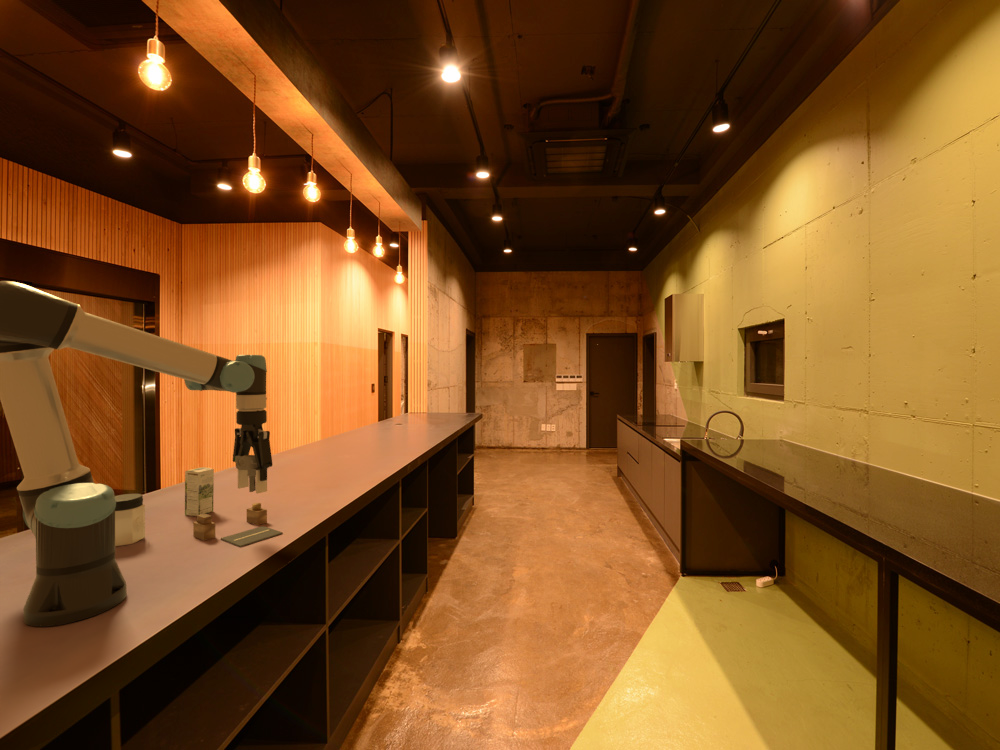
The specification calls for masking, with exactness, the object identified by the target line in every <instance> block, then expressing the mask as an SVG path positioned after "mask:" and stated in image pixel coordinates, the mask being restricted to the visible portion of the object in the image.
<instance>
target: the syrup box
mask: <svg viewBox="0 0 1000 750" xmlns="http://www.w3.org/2000/svg"><path fill="white" fill-rule="evenodd" d="M214 471H215V470H214V469H213V468H211V467H204V466H203V467H198V468H197V467H196V468H193V469H188V470H185V471H184V515H185V516H191V517H193V516H194V517H197V515H201V514H207V515H208V514H209V513H212V512H214V488H215V487H214V485H215V484H214V483H215V481H214V480H215V479H214V478H215V476H214V475H215V472H214Z"/></svg>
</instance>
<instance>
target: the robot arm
mask: <svg viewBox="0 0 1000 750" xmlns="http://www.w3.org/2000/svg"><path fill="white" fill-rule="evenodd" d="M66 348H70V349H73V350H77V351H81V352H84V353H87V354H91V355H94V356H99V357H101V358H106V359H109V360H114V361H117V362H121V363H124V364H128V365H130V366H131V365H132V366H135V367H139V368H142V369H146V370H150V371H152V372H157V373H161V374H165V375H168V376H170V377H171V376H172V377H174V378H177V379H178V378H179V379H182V380H184V384H185V387H186V389H188V390H190V391H199V392H201V391H202V392H203V391H219V392H222V391H223V392H230V393H235V394H236V395H235V408H236V409H237V411H236V412H235V413H236V414H235V416H236V424H237V425H239V426H240V425H241V426H240V427H237V428H234V445H233V451H232V453H233V454H232V462H233V463H235V461H234V458H235V456H239V455H240V456H241V457H242V456H244V455H250V452H251V448H252V451H253V455H255V459H256V463H257V466H258V467H257V468H256V491H255V494H262V493H267V492H268V469H269V468H271V467H273V457H272V449H271V448H272V447H271V444H270V443H271V442H270V435H271V434H270V430H264V428H263V424H266V423H267V422H268V421H267V419H268V418H267V417H268V416H267V415H268V414H267V410H266V408H267V399H268V397H267V372H268V370H267V362H266V361H267V359H266V357H265V356H264V355H262V354H238V355H236V356H235V360H231V359H229V358H226V357H222V356H219V355H216V354H214V353H211V352H207V351H204V350H201V349H199V348H195V347H192V346H189V345H186V344H183V343H180V342H177V341H174V340H171V339H168V338H164V337H162V336H158V335H156V334H153V333H149V332H147V331H144V330H141V329H137V328H135V327H131V326H129V325H125V324H123V323H119V322H116V321H112V320H111V319H108V318H104V317H101V316H99V315H98V316H97V315H95V314H91V313H88V312H85V311H84V310H83V308H82V307H81V305H80V304H78V303H75V302H72V301H69V300H67V299H63V298H61V297H58V296H56V295H54V294H50V293H48V292H46V291H43V290H41V289H38V288H36V287H33V286H30V285H27V284H25V283H20V282H18V281H17V282H16V281H10V280H1V281H0V403H1V407H2V411H3V413H4V416H5V418H6V419H5V420H6V422H7V425H8V429H9V432H10V436H11V438H12V439H11V440H12V441H13V445H14V448H15V452H16V455H17V458H18V461H19V464H20V468H21V471H22V474H23V479H22V481H21V482H20V483H19V484H18V485H17V487H16V490H17V494H18V496H19V500H20V504H21V507H22V517H23V518H22V519H23V521H24V523H25V525H26V526H27V528H28V529H29V530H30V531H31V533H32V534H33V535H34V538H35V565H36V566H35V568H36V570H35V571H36V574H35V575H36V576H35V580H34V582H33V584H32V586H31V588H30V592H29V593H28V596H27V599H26V601H25V604H24V606H23V623H24V624H25V625H28V626H31V627H38V628H39V627H42V628H43V627H54V626H61V625H66V624H71V623H75V622H79V621H81V620H85V619H89V618H92V617H94V616H97V615H99V614H102V613H104V612H106V611H109V610H110V609H112V608H114V607H116V606H117V605H119V604H120V603H122V602H123V601H124V600H125V599H126V597H127V582H126V579H125V577H124V575H123V574H122V571H121V569H120V567H119V565H118V563H117V560H116V546H115V507H116V499H115V496H116V495H115V492H114V489H113V488H112V487H111V486H109V485H107V484H103V483H95V482H94V479H93V474H92V471H91V469H90V467H87V466H86V465H82V464H80V463H79V460H78V456H77V453H76V450H75V449H76V448H75V446H74V442H73V438H72V435H71V431H70V429H69V425H68V422H67V421H68V420H67V418H66V414H65V412H64V411H65V410H64V407H63V404H62V401H61V398H60V394H59V390H58V387H57V383H56V380H55V377H54V373H53V369H52V366H51V362H50V359H49V357H50V355H51V354H52V353H53V351H54V350H57V351H58V350H62V349H66ZM247 474H248V470H238V469H237V489H239V490H240V489H245V488H249V476H247Z"/></svg>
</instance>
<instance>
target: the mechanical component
mask: <svg viewBox="0 0 1000 750" xmlns="http://www.w3.org/2000/svg"><path fill="white" fill-rule="evenodd" d="M234 461H235V462H234V463H235V467H236V469H237V471H238V470H248V474H247V476H249V487H248V488H249V493H253V492H256V468H257V467H258V466H257V463H256V459H255V455H254V454H249V455H244V456H242V457H241V456H240V455H239V456H235V458H234Z"/></svg>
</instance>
